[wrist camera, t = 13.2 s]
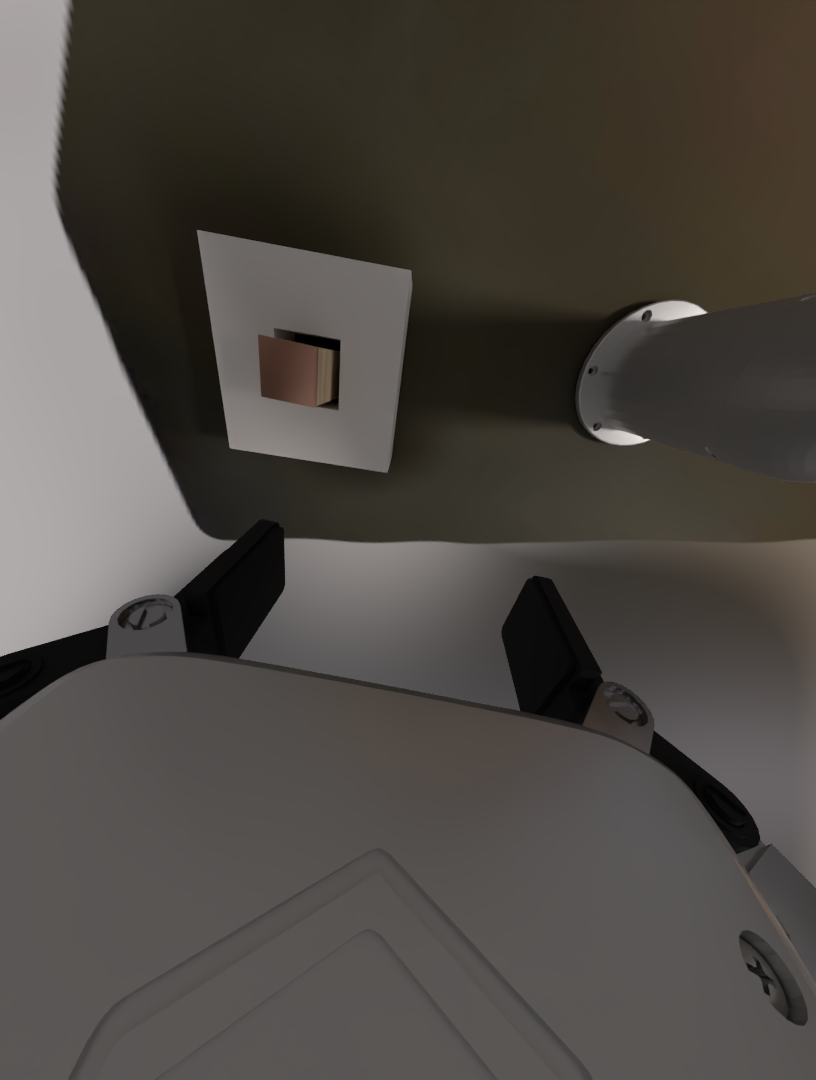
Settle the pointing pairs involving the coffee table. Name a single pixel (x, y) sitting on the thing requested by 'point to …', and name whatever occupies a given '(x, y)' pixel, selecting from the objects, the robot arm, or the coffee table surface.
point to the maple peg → (298, 372)
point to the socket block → (314, 310)
